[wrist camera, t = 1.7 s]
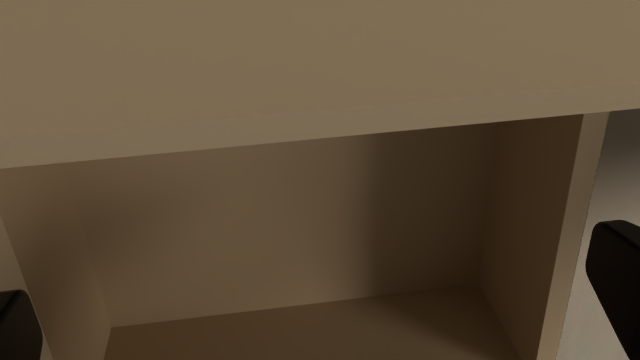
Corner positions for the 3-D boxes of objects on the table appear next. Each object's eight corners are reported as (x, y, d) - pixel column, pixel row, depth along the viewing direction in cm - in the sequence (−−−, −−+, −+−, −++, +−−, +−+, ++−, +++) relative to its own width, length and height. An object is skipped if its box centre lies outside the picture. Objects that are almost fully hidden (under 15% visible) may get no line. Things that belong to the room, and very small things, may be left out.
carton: (540, -146, 15) (664, -142, 11) (486, 284, 22) (549, 391, 18) (-35, -116, 14) (-155, -97, 10) (100, 330, 21) (66, 457, 16)
